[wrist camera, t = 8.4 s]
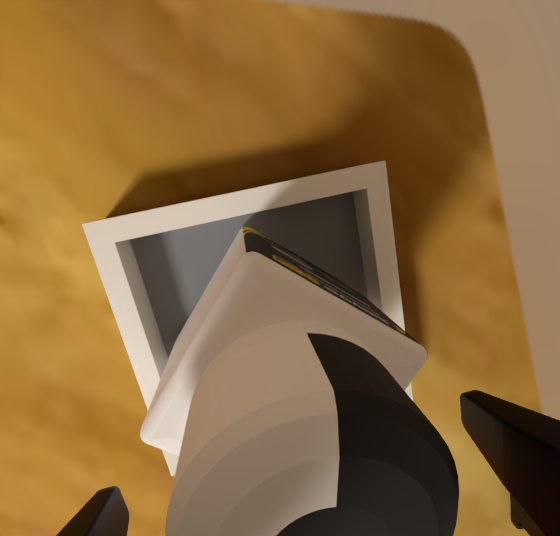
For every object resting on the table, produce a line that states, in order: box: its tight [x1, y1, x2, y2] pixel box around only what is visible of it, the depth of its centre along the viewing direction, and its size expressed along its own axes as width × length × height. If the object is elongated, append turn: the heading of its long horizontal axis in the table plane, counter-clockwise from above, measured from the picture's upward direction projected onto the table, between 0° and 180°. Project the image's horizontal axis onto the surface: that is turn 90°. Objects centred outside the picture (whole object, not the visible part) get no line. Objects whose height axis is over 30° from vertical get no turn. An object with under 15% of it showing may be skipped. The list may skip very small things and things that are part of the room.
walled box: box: [82, 161, 413, 476], centre depth 17 cm, size 13×13×2 cm
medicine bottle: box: [140, 226, 459, 536], centre depth 12 cm, size 7×7×12 cm
